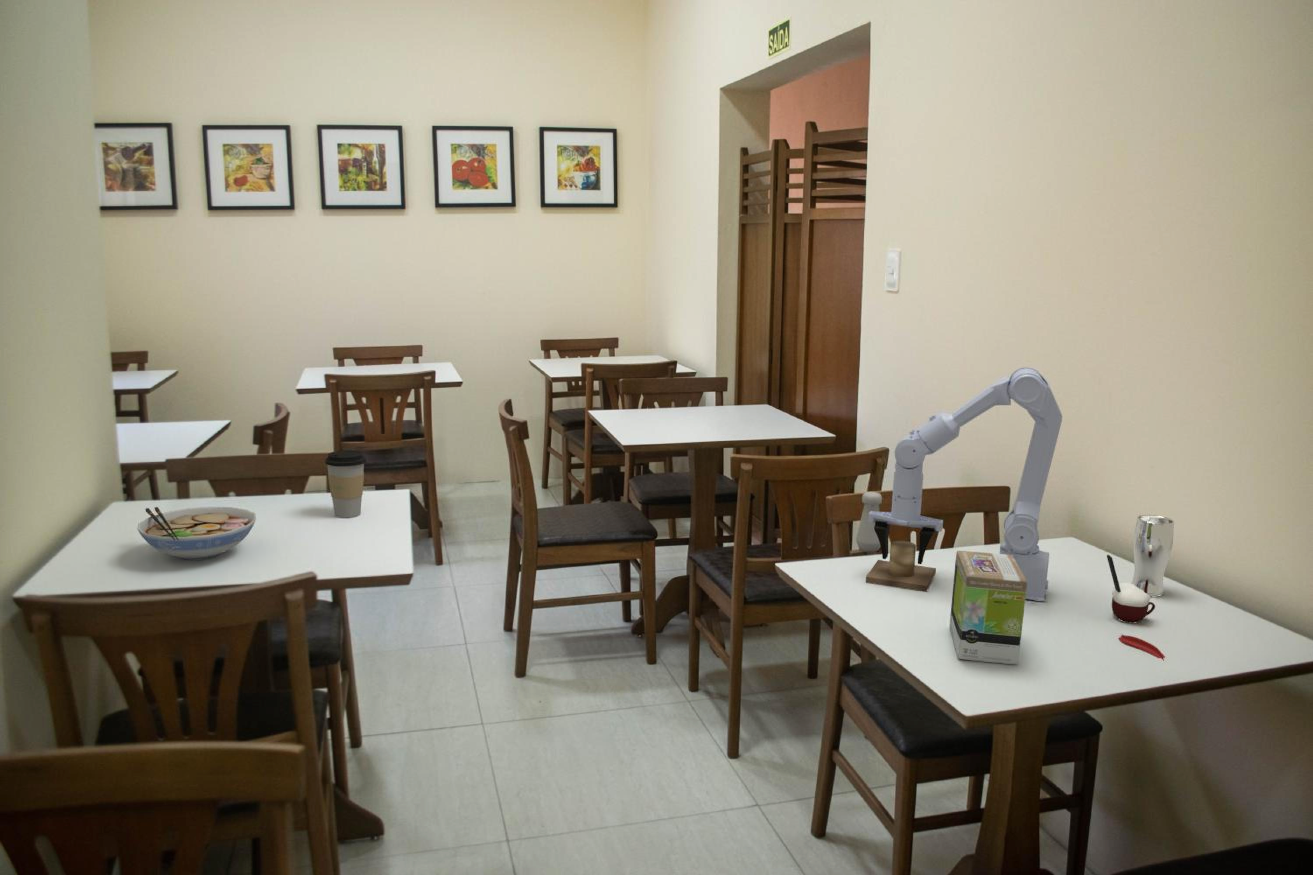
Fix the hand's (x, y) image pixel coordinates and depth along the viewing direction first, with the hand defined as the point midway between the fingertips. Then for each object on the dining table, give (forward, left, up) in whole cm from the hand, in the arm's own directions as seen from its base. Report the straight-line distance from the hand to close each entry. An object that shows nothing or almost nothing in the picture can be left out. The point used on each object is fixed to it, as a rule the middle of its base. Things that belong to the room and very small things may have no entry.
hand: (902, 560), depth 209 cm
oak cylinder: (0, 0, -3) cm, 3 cm away
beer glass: (-46, -14, -4) cm, 48 cm away
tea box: (-19, +29, -4) cm, 35 cm away
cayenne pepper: (-44, +18, -4) cm, 48 cm away
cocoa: (-42, +4, -4) cm, 42 cm away
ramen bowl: (+136, +52, -4) cm, 146 cm away
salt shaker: (+10, -16, -4) cm, 19 cm away
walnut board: (0, 0, -4) cm, 4 cm away
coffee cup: (+129, +14, -4) cm, 130 cm away
